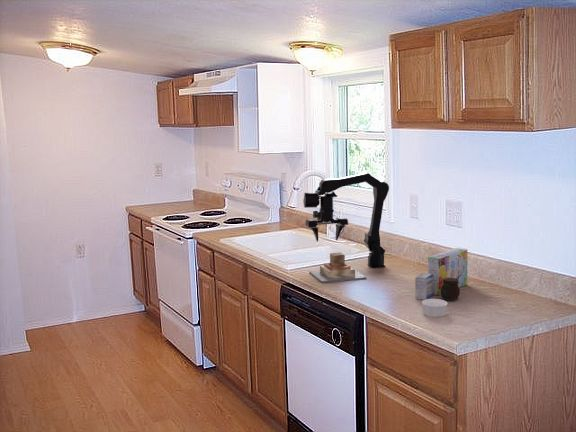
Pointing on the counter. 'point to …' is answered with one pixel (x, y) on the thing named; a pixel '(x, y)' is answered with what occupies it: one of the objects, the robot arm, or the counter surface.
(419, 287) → the medicine box
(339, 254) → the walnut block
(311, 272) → the grey base plate
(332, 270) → the socket plinth
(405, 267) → the counter surface
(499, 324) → the counter surface
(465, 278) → the snack box
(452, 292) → the mate gourd
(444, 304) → the ramekin
